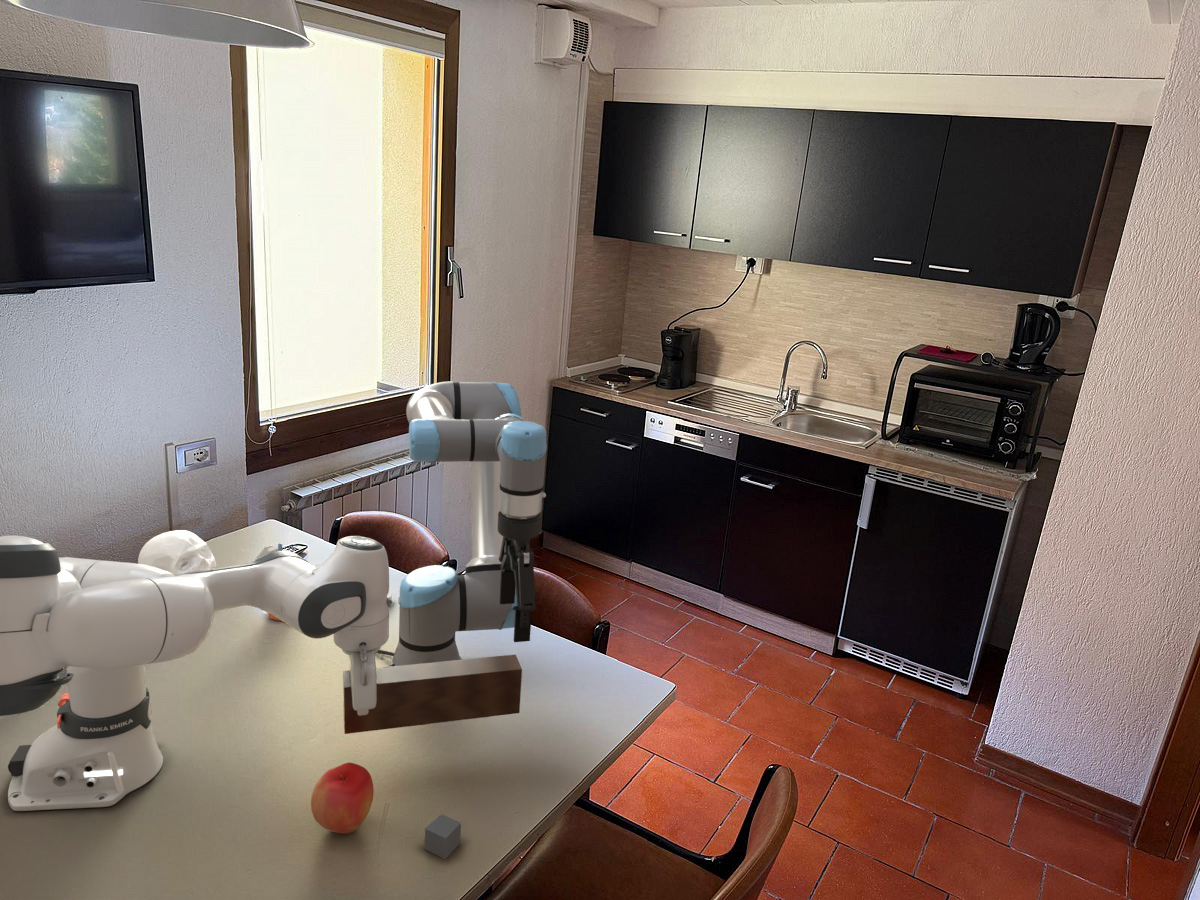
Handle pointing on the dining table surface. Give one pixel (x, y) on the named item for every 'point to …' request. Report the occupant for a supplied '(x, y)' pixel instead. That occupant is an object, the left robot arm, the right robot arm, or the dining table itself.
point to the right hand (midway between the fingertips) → (514, 621)
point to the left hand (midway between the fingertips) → (361, 701)
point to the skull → (177, 553)
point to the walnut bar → (438, 693)
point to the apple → (342, 798)
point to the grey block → (442, 836)
